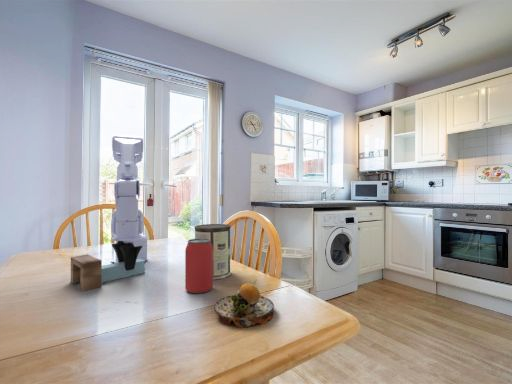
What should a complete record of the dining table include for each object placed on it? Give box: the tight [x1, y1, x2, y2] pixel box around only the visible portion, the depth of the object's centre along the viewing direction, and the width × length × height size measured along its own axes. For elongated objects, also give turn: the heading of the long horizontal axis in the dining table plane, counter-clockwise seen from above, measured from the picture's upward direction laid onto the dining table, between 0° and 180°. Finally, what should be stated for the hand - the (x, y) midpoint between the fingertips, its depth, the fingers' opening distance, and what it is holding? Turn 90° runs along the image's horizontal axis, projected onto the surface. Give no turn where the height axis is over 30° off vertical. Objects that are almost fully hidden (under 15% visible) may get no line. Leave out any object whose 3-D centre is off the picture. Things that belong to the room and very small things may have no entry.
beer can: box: [184, 238, 214, 294], centre depth 65 cm, size 7×7×12 cm
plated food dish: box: [214, 280, 275, 329], centre depth 52 cm, size 12×12×8 cm
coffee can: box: [194, 223, 231, 281], centre depth 77 cm, size 10×10×14 cm
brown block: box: [70, 254, 103, 292], centre depth 68 cm, size 4×10×7 cm, turn 49°
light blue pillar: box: [101, 259, 146, 284], centre depth 74 cm, size 14×3×4 cm, turn 139°
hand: (126, 268), depth 76 cm, fingers closed on light blue pillar, 3 cm apart
